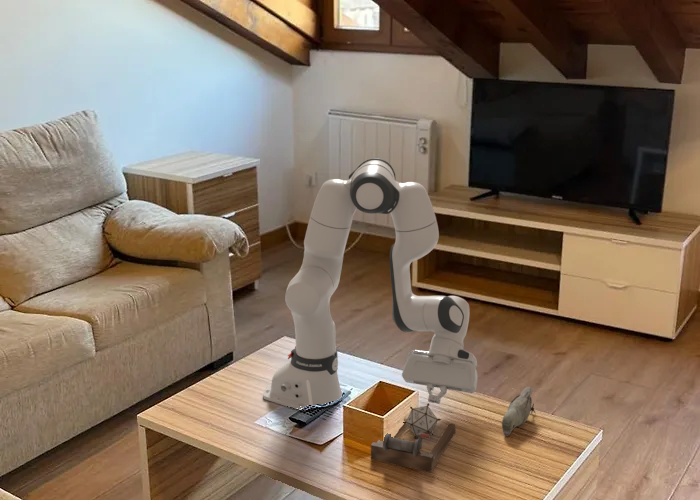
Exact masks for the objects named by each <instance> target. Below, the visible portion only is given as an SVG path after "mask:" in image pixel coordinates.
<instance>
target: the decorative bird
mask: <svg viewBox="0 0 700 500" xmlns="http://www.w3.org/2000/svg"><path fill="white" fill-rule="evenodd" d="M533 391H534V389H533V388H532V387H531V386H527V387H524V389H522V391H521V392H520V394H518V395H516V396H514V398H513V399H512V400H511V402H510V403H509V405H508V408H507V412H505V414H504V415H503V416H502V421H501V428H502V433H503V436H504V437H505V438H508V437H509V436H510V435H511V433H512V431H513V430H514V429H515V428H516V427H519V426H522V425H523V424H524V423H526V422H527V420H528V418H529V416H530V413H531V415H532V414H533V413H534V414H535V415H536V414H537V413H536V410H535V408H534V405H535V404H534V403H532V402H533V400H532V393H533Z"/></svg>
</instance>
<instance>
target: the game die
mask: <svg viewBox="0 0 700 500" xmlns="http://www.w3.org/2000/svg"><path fill="white" fill-rule="evenodd" d="M429 406H430V402H427V404H426V405H424V406H420V407H415V408H413V407H412V406H411V405H410V406H409V408H410V412H409V415H408V417H407V419H406V420H405V422H403V423H404V425H405V424H406V425H407V426H408V428H409V429H410V431H411V432H412V433H413V435H414V438H413V439H414V440H417V437H418V434H419V433H424V434H429V435H431V436H434V433H433V432H434V429H435V427H436V425H437V423H438V421H439V422H440V421H441V418H437V416H436V415H435V413H434V412H433V411H432V410H431V408H430V407H429Z"/></svg>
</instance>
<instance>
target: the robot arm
mask: <svg viewBox="0 0 700 500" xmlns="http://www.w3.org/2000/svg"><path fill="white" fill-rule="evenodd" d="M357 210H359V211H361V212H362V213H365V214H381V215H382V214H383V215H389V214H390V216H391V218H392V223H393V226H394V231H395V241H394V243H393V244H392V245H391V247H390V249H389V271H390V284H391V295H392V309H391V316H392V320H393V323H394V325H395V326H396V327H397V328H398V329H399V330H400V331H402V332H403V333H415V332H431V333H432V332H433V333H434V334H433V336H432V338H431V341H430V346H429V349H428V351H427V350H418V349H413V350H411V351H409V352H408V353H407V355H406V359H405V363H404V367H403V369H402V373H401V377H402V379H403V380H404V382H405V383H409V384H413V385H414V384H415V385H421V386H425V387H426V389H427V392H428V393H427V394H428V397H427V401H428V403H430V404H431V403H432V404H438V405H440V404H441V401H442V400H441V399H442V398H443V397H444V396H446V394H447V392H448V390H451V391H456V392H462V393H467V394H473V393H475V392H476V390H477V386H478V376H479V375H478V370H477V369H476V368H477V366H478V361H477V358H476V356H475V355H474V354H473V352H470V351H467V350H466V349H464V341H465V340H464V339H465V337H466V335H467V332H468V327H469V323H470V322H469V321H470V305H469V304H470V303H468V302H467V301H466V299H464V298H462V297H460V296H457V295H448V296H446V295H416V294H414V293H413V291H412V285H411V284H412V283H411V282H412V281H411V273H410V272H411V271H410V266H411V263H414V262H415V261H417V260H420V259H422V258H423V257H426V255H428V254H429V253H431V251H433V250H434V249H435V247H436V246H437V244H438V242H439V237H440V231H439V225H438V221H437V216H436V214H435V209H434V207H433V204H432V201H431V198H430V196H429V194H428V191H427V190H426V188H425V186H424V185H422V184H421V183H419V182H416V181H407V182H406V181H405V182H400V181H397V180H396V173H395V170H394V168H393V167H392V165H391V164H390V162H387V161H386V160H384V159H382V158H378V157H374V158H373V157H371V158H369V159H366V160H365V161H363V162H361V164H360V165H358V166H357V167H356V168H355V169H354V170H353V171H352V172H351V173H350V174H349V175H348V179H347V180H346V179H345V180H344V179H341V178H333V179H327V180H326V181H324V182H323V184H322V185H321V187H320V189H319V190H318V191H317V194H316V197H315V200H314V202H313V206H312V209H311V212H310V216H309V220H308V224H307V228H306V231H305V235H304V240H303V247H304V251H303V260H302V264H301V265H300V266H301V267H300V268H299V270H298V271H297V273H296V274H295V275H294V277H293V278H292V279H291V280H290V281H289V283H288V285H287V287H286V291H285V294H284V295H285V296H284V300H285V304H286V306H287V308H288V309H289V310H290V313H291V316H292V321H293V324H294V333H295V334H294V335H295V346H294V348H293V349H292V350H291V351H290V353H289V354H288V355H287V360H289V361H287V363H285V364H284V365H282V366H280V368H278V369H277V370H276V371H275V373H274V374H273V375H272V378H271V383H270V384H268V386H267V387H266V388H265V389H264V391H263V399H264V400H266V401H269V402H272V403H274V404H278V405H281V406H284V407H287V406H288V407H287V408H290V407H293V408H298V409H301V408H303V407H305V406H307V405H316V404H325V403H329V402H332V401H336V400H337V399H339V398H340V397H341V396H342V394H343V392H342V388H341V385H340V381H339V374H338V368H339V367H338V366H339V358H338V349H337V346H336V345H337V343H336V342H337V341H336V324H335V321H334V320H333V318H332V314H331V310H330V309H331V308H330V302H331V297H332V296H333V294H334V293H335V292H336V290H337V289H338V286H339V283H340V278H341V273H342V267H343V261H344V255H345V249H346V245H347V242H348V239H349V234H350V232H351V228H352V225H353V224H352V223H353V220H354V215H355V213H356V211H357ZM290 359H291V360H290ZM435 388H437V389H440V392H439V393H438V394H437V395H436V394H433V392H432V391H434V390H435ZM300 406H302V407H300ZM293 408H292V409H293Z"/></svg>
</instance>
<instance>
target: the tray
mask: <svg viewBox="0 0 700 500" xmlns="http://www.w3.org/2000/svg"><path fill="white" fill-rule="evenodd" d="M455 434H456V424H455V423H448V424H447V425H446V427H445V429H444V430H443V432H442V433H441V434H440V436H439V438H438V440H437V441H436V443H435V444H434V446H433V448H432V449H431V451H430V452H429V453H428V452H423V451H421V450H422V448H423V439H430V435H431V434H424V433H419V434H418V436H417V437H418V439H417V438H416V439H415V441H413V440H407V439H404V438H403V439H401V438H396V437H395V438H393V437H391V434H388V433H387V434H386V435H385V437H384V441H380V440H379V439H378V440H377V442H374V441H373V442H372V443H371V444H370V460H372V461H377V462H380V463H386V464H391V465H396V466H399V467H404V468H408V469H413V470H417V471H418V470H419V471H424V472H428V473H433V471H434V469H435V468H436V466H437V464H438V462H439V460H440V459H441V458H442V456H443V454H444V453H445V451H446V450H447V447H448V446H449V444H450V443H451V441H452V439H453V438H454V436H455Z"/></svg>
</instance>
